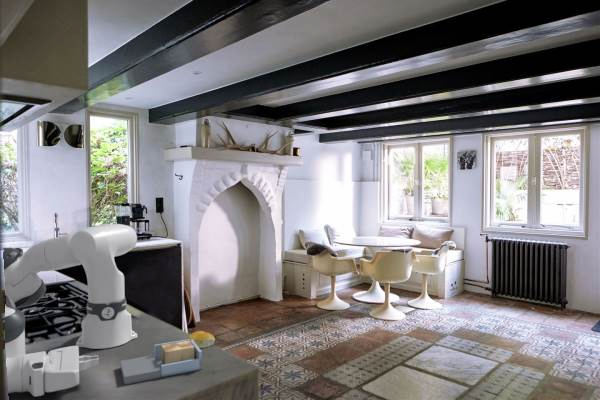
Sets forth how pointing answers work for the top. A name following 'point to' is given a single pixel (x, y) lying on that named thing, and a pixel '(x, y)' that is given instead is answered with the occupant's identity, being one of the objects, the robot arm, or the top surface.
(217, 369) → the top surface
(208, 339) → the bread roll
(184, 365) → the tray
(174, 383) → the top surface
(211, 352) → the top surface
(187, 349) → the oak block
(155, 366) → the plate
